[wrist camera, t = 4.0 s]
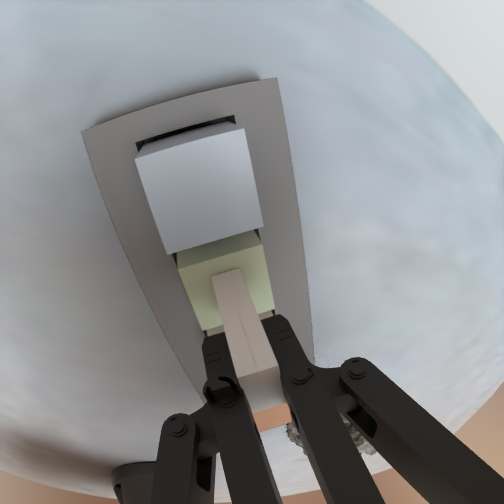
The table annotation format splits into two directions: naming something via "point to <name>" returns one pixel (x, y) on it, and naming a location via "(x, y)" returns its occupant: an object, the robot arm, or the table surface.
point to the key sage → (220, 261)
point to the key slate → (200, 185)
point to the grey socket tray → (145, 229)
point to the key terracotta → (272, 417)
